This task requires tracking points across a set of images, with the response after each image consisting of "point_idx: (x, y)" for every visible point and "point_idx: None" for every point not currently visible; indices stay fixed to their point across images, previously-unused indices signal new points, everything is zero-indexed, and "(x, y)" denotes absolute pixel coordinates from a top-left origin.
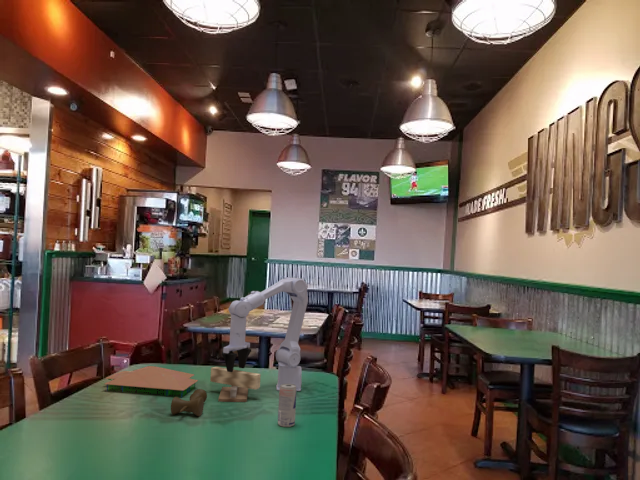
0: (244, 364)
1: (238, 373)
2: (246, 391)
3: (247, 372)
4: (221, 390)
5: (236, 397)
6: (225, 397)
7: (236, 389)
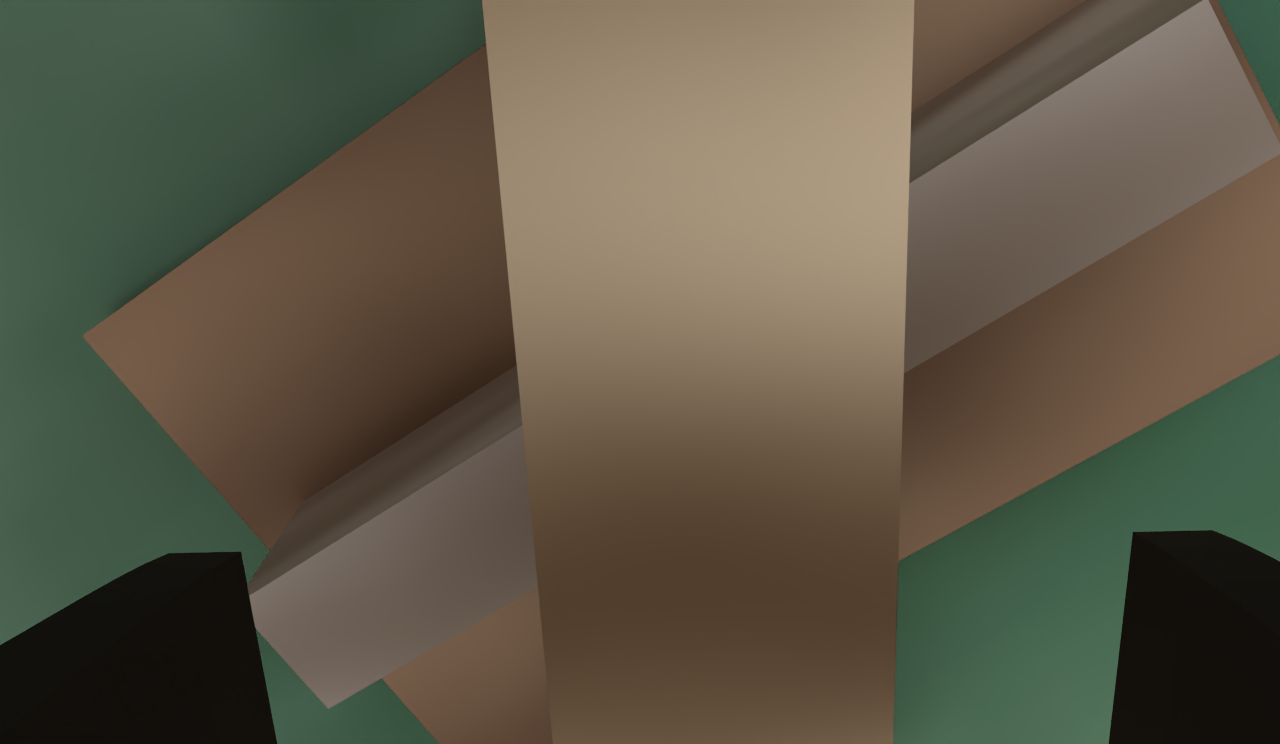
0: (143, 619)
1: (897, 333)
2: (416, 140)
3: (595, 31)
4: None
5: (1047, 6)
6: (1193, 233)
7: (994, 114)
